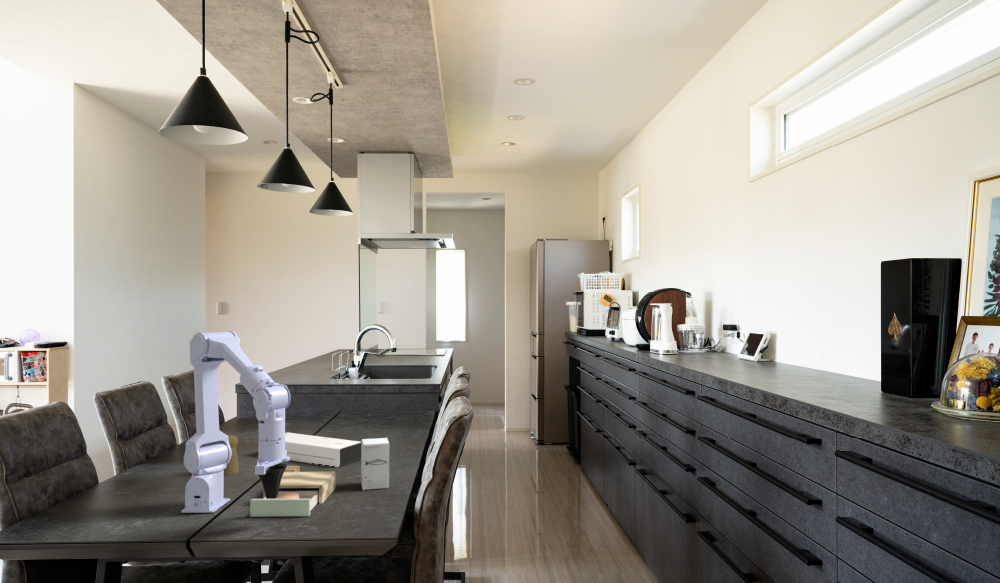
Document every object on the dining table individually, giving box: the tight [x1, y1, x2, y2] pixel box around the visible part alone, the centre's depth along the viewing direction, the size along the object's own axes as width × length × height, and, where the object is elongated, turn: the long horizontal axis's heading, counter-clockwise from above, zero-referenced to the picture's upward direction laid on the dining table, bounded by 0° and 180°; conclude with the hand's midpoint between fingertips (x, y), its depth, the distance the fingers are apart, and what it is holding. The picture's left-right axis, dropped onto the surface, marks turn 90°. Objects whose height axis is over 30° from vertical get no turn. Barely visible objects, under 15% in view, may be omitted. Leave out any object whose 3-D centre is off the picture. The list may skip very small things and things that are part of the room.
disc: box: [275, 493, 299, 499], centre depth 149 cm, size 6×6×2 cm
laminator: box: [285, 431, 361, 468], centre depth 198 cm, size 34×12×6 cm, turn 63°
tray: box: [249, 490, 319, 518], centre depth 150 cm, size 13×14×4 cm
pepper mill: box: [224, 435, 240, 476], centre depth 181 cm, size 6×6×11 cm
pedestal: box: [284, 465, 301, 472], centre depth 171 cm, size 4×4×4 cm
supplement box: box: [360, 437, 390, 491], centre depth 168 cm, size 7×7×13 cm
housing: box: [262, 470, 337, 504], centre depth 159 cm, size 13×15×5 cm
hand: (271, 497), depth 138 cm, fingers closed
